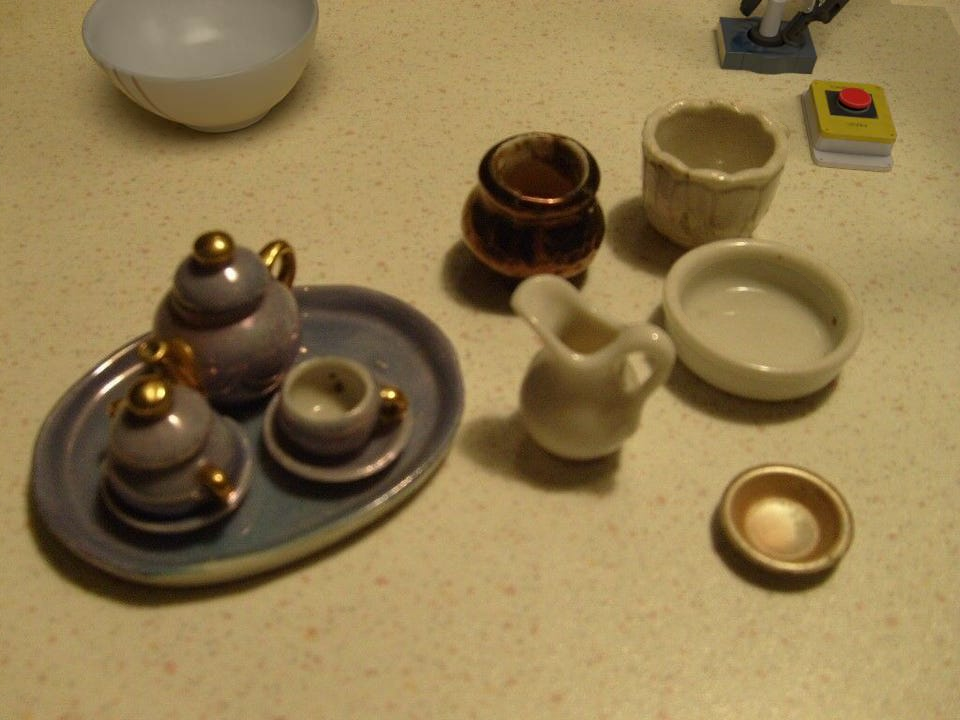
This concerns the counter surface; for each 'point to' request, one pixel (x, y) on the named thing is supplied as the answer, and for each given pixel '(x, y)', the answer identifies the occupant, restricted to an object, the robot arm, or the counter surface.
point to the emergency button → (849, 125)
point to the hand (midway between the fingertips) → (762, 26)
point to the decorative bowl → (203, 55)
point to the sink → (762, 49)
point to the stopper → (769, 25)
